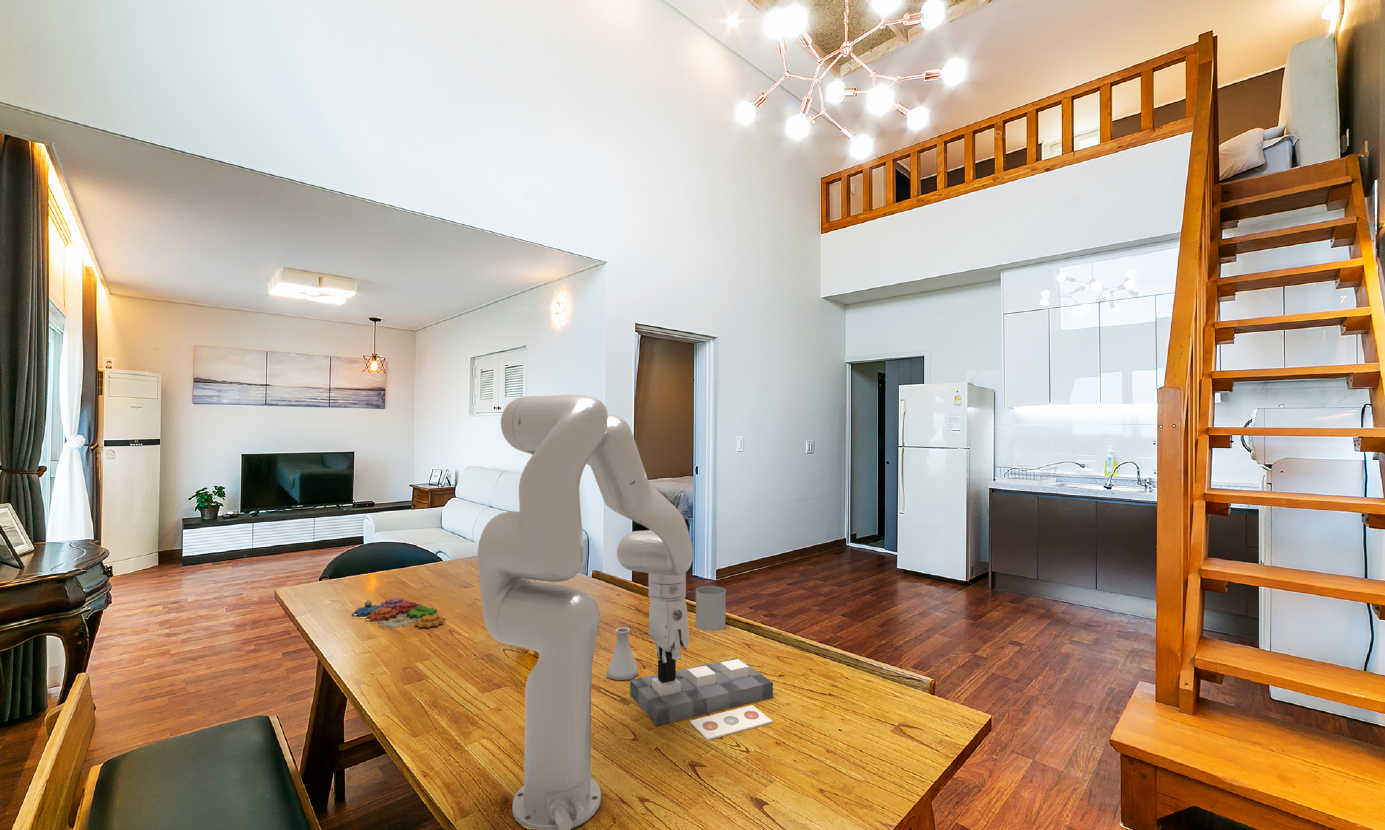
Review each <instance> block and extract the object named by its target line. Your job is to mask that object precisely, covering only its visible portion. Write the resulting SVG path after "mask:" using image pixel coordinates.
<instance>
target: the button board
mask: <svg viewBox="0 0 1385 830" xmlns="http://www.w3.org/2000/svg"><path fill="white" fill-rule="evenodd" d="M735 659H739V660H740V661H742V660H741V659H740V658H738V657H735V658H732V659H725V660H721V661H716V662H711V663H706V664H702V665H701V664H700V665H696V666H691V667H686V668H682V669H677V670H676V679H677V680H678V681H679V682H680V683H681V692H678V693H674V694H669V695H665V696H659V695H658V694H657V693H656V692H655V691H654V690H653V689H652V678H657V677H658V673H657V674H652V675H647V676H643V677H642V676H641V677H638V678H632V679H630V680H629V694H630V696H631V698H633V700H634V701H635V702H636V703H637V705H639V707H640V708H641V709H642V710H643V711H644V712H645V714H646V715H647V716H648V718H650V719H651V721H652V722H653V723H654V724H655V725H656V726H658V727H659V726H662V725H666V724H670V723H674V722H679V721H683V720H686V719H690V718H694V717H695V718H696V717H698V716H699V717H700V716H704V715H706V714H711V713H715V712H718V711H723V710H727V709H730V707H731V708H734V707H738V705H739V706H742V705H747V704H750V703H751V704H752V703H754V702H759V701H762V700H767V699H771V698H773V697H774V682H773V681H771V680H770V679H769V678H767V677H766V676H764V675H763V674H762V673H760V672H758V671H757V670H755V668H753V667H751V666H750V665H748V664H747V663H745V662H744V661H742V662H743V663H745V664H746V665H748V666H749V677H745V678H741V679H736V680H732V681H730V680H729V679H727V678H726V677H725V676H724V675H722V674H721V673H720V666H721V662H725V661H730V660H735ZM701 666H707V667H708V668H710V669H711V670H712V671H713V672H715V673H716V684H714V685H710V686H705V687H701V688H695V687H694V686H693V685H692V684H691V683H689V682H688V681H687V669H691V668H696V667H701Z"/></svg>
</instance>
